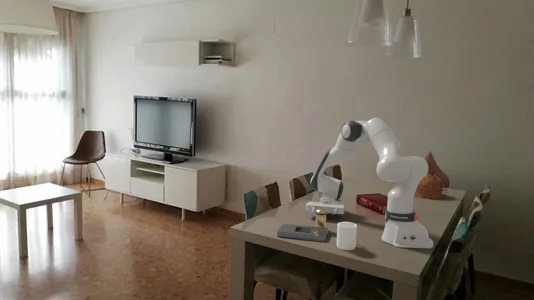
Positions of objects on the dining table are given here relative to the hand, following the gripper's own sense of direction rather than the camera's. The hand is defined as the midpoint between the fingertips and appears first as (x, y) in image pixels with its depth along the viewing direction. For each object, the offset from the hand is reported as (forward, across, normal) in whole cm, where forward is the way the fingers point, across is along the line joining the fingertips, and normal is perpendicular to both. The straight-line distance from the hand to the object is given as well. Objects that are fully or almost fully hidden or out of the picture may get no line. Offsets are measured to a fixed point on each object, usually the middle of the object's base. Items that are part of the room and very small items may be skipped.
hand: (323, 211), depth 224 cm
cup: (+30, +14, +6) cm, 34 cm away
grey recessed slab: (+22, -7, +6) cm, 24 cm away
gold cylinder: (+12, 0, +6) cm, 13 cm away
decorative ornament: (-81, +59, +6) cm, 100 cm away
